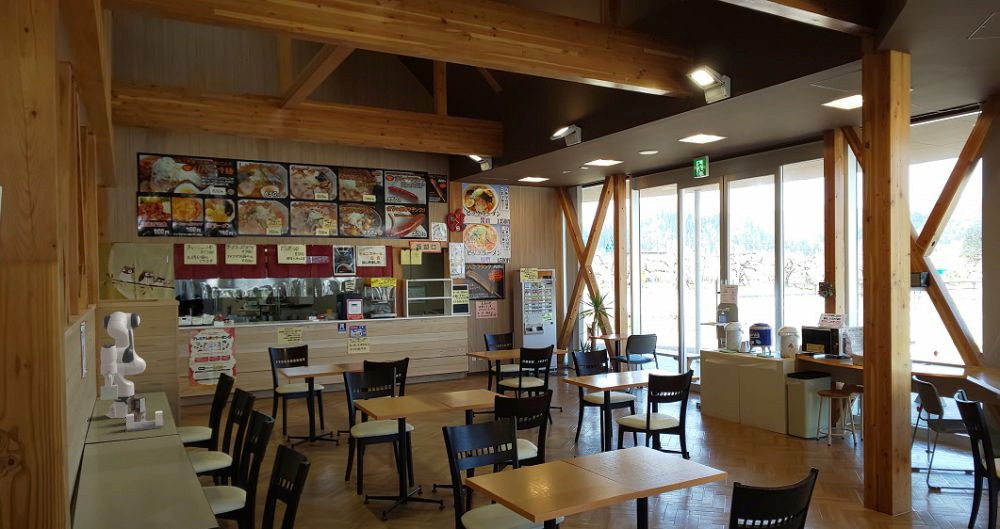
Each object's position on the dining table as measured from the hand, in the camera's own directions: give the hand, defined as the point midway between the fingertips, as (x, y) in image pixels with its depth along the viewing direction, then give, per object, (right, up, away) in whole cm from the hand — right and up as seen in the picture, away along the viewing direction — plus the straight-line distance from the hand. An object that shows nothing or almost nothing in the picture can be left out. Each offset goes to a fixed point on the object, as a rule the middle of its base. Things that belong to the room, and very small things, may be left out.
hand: (109, 393), depth 411 cm
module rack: (+16, -24, +11) cm, 31 cm away
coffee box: (+2, -25, +27) cm, 37 cm away
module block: (0, -4, 0) cm, 4 cm away
